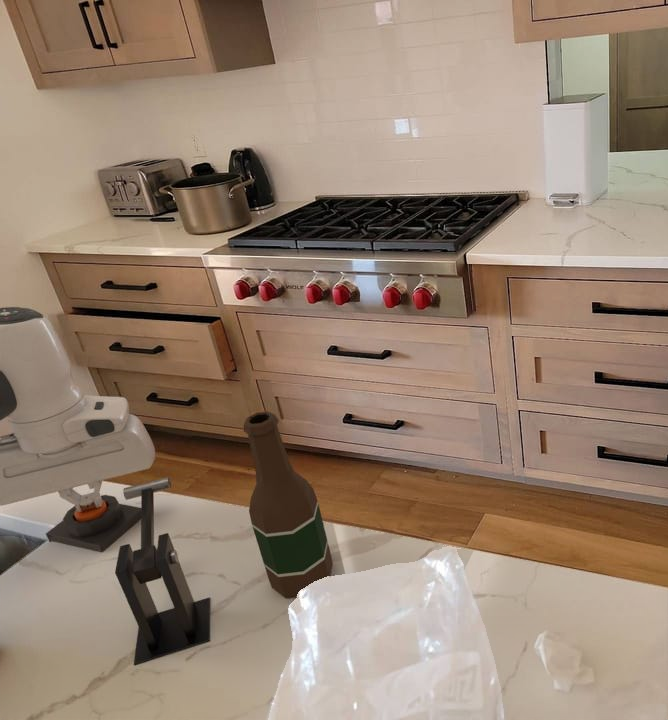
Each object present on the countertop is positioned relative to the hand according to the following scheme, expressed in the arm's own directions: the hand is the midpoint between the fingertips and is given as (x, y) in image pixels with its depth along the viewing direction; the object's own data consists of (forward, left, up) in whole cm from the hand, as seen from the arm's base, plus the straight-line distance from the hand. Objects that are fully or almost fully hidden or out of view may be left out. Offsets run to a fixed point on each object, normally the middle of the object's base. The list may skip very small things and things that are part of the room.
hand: (90, 507), depth 95 cm
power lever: (+11, -20, +7) cm, 24 cm away
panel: (0, 0, -4) cm, 4 cm away
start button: (0, 0, -2) cm, 2 cm away
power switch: (+11, -25, -4) cm, 28 cm away
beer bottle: (+26, -23, -5) cm, 35 cm away
